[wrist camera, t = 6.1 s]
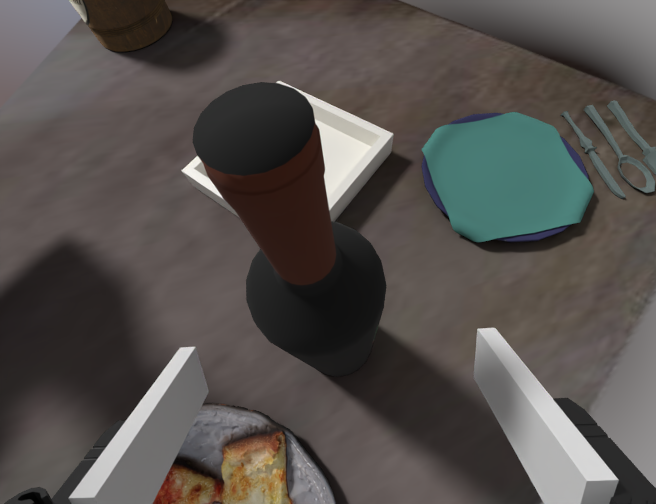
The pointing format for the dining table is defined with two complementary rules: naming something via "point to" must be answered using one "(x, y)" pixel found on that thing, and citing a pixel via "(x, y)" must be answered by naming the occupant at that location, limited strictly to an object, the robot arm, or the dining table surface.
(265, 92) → the wine bottle
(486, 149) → the cutlery set
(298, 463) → the food plate
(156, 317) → the dining table surface
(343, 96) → the dining table surface
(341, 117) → the tray
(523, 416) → the robot arm
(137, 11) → the wooden container
